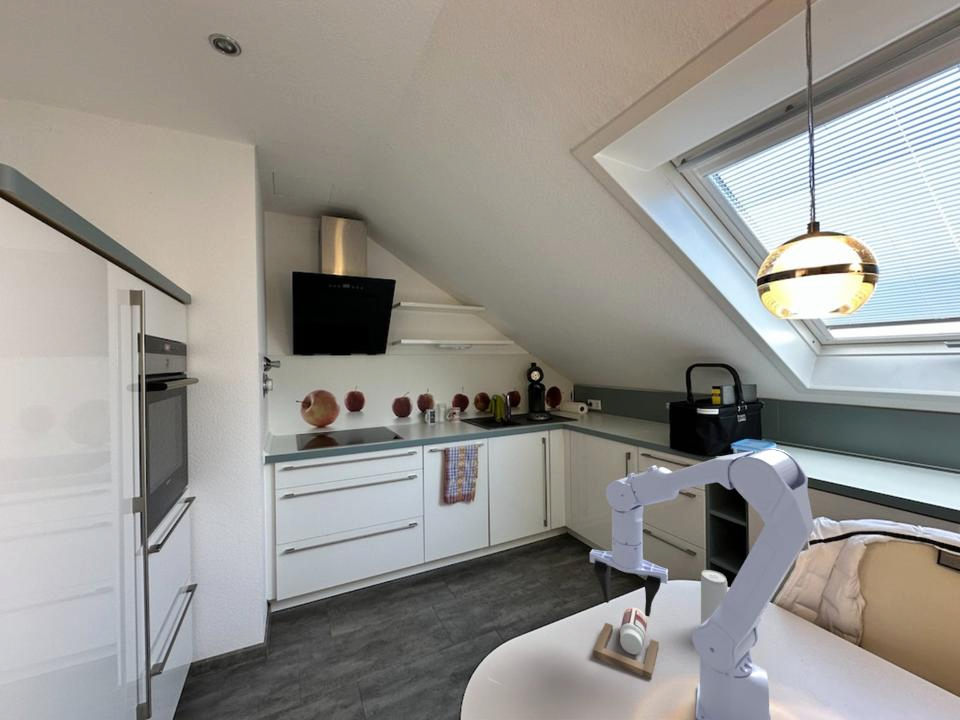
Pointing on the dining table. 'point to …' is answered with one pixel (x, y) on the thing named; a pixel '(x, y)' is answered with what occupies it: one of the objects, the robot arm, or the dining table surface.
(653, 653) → the socket block
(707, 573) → the beverage can
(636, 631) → the pill bottle
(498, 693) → the dining table surface
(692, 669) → the dining table surface
